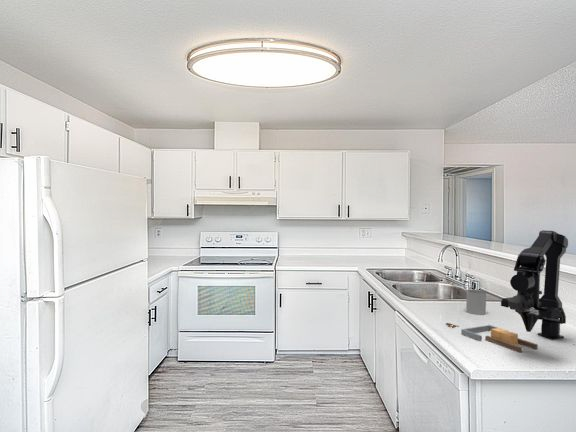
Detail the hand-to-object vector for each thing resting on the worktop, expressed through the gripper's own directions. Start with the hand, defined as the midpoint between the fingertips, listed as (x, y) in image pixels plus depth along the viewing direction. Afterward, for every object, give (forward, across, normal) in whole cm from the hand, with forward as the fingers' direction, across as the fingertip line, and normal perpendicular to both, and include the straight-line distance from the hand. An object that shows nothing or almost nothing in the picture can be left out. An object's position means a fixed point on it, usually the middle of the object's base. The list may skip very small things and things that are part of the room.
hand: (528, 331), depth 145 cm
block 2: (+7, -8, 0) cm, 10 cm away
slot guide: (+7, -7, 0) cm, 9 cm away
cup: (+7, -44, +25) cm, 51 cm away
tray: (+7, -18, 0) cm, 19 cm away
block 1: (+7, -12, 0) cm, 13 cm away
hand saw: (+7, -41, -3) cm, 42 cm away
